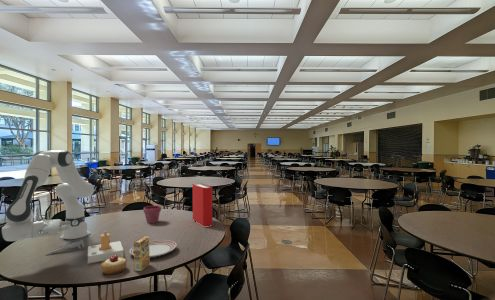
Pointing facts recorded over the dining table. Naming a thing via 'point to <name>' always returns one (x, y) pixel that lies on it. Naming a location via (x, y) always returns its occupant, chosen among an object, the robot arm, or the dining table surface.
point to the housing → (104, 252)
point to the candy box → (141, 254)
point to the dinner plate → (158, 247)
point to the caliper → (68, 247)
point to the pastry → (113, 265)
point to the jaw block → (105, 241)
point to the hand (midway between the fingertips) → (70, 224)
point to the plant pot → (152, 213)
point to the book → (202, 204)
